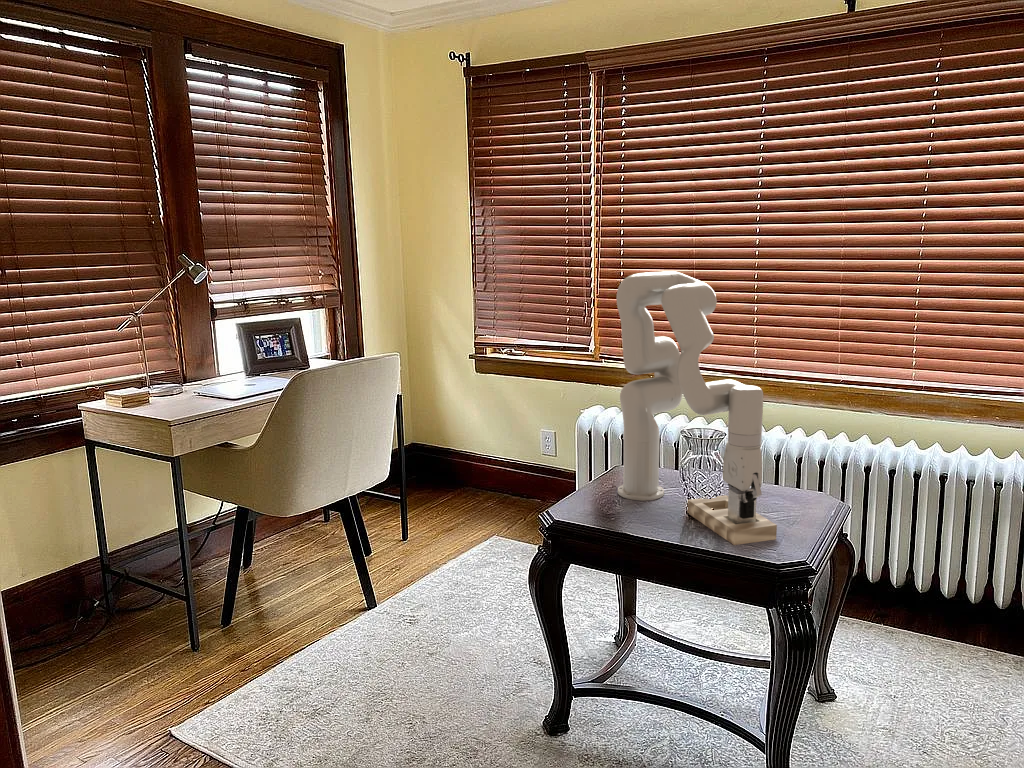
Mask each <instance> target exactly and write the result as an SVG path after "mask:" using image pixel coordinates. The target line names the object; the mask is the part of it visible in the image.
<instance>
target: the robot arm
mask: <svg viewBox="0 0 1024 768" xmlns="http://www.w3.org/2000/svg"><path fill="white" fill-rule="evenodd" d="M618 285H619V286H618V288H617V291H616V306H617V310H618V311H617V312H618V314H619V318H620V326H621V327H620V328H621V343H622V356H623V365H624V367H625V370H626V371H627V372H628V373H629V374H631V375H644V374H653V373H654V377H649V378H641V379H636V380H632V381H630V382H628V383H626V384H625V385H624V386H623V387H622V388H621V390H620V395H619V401H620V402H619V403H620V407H621V411H622V421H623V423H622V424H623V466H622V467H623V473H622V478H623V480H622V481H623V482H622V484H620V485H619V486H618V488H617V494H618V495H619V496H620V497H622V498H624V499H626V500H627V499H628V500H631V501H643V502H644V501H645V502H646V501H654V500H659V499H660V498H663V497H664V496H665V489H664V488H663V487H662V486H661V485H660V483H659V482H660V481H659V478H660V427H659V425H658V423H657V421H656V419H655V417H654V414H658V413H663V412H668V411H672V410H675V409H676V408H678V407H679V405H680V404H681V402H682V398H684V399H685V401H686V403H687V405H688V406H689V408H690V409H691V411H692V412H694V413H695V414H697V415H700V416H708V415H713V414H720V413H725V412H728V418H727V419H728V421H727V424H728V425H727V441H726V445H725V447H724V454H723V455H724V456H723V462H722V463H723V465H722V479H723V481H724V482H725V483H727V486H728V487H729V485H732V486H733V487H735V488H737V489H739V490H741V491H742V495H743V502H741V516H740V517H741V518H742V519H745V518H752V517H754V502H755V501H756V498H757V499H758V498H759V497H761V496H762V495H763V493H762V489H761V488H762V482H763V459H762V456H763V455H762V448H761V447H762V438H763V436H762V435H763V417H764V415H763V412H764V411H763V410H764V392H763V389H762V388H760V386H757V385H751V384H750V385H749V384H744V383H741V382H740V381H738V380H734V379H730V378H729V379H727V378H726V379H721V380H713V381H707V382H706V381H705V379H704V377H703V375H702V373H701V369H700V365H699V361H700V359H699V358H700V355H701V353H702V351H704V350H706V349H707V348H708V347H709V346H711V345H712V343H713V342H714V340H715V336H714V332H713V331H712V329H711V326H710V323H709V322H708V320H707V316H708V315H711V314H712V313H713V312H715V310H716V307H717V304H718V301H717V295H716V293H715V290H714V289H713V288H712V287H711V286H710V285H709V284H707V283H706V282H705V281H701V280H700V279H698V278H697V279H696V278H694V277H691V276H689V275H687V274H684V273H681V272H680V271H675V270H674V271H672V270H671V271H670V270H669V271H668V270H667V271H665V270H664V271H649V272H648V271H646V272H639V273H633V274H630V275H628V276H627V277H625V278H624V279H623V280H622V281H621V282H620V283H619V284H618ZM659 305H661V307H662V309H663V311H664V314H665V316H666V319H667V321H668V323H669V326H670V329H672V332H673V334H674V336H675V339H676V341H677V342H675V341H674V339H672V338H671V337H668V336H664V335H660V336H655V325H654V320H653V317H652V316H651V313H650V312H649V310H648V309H647V306H659ZM677 344H678V345H677ZM750 486H751V488H750ZM750 491H751V493H749V494H748V496H747V492H750ZM756 502H757V501H756Z"/></svg>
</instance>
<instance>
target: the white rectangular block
mask: <svg viewBox="0 0 1024 768" xmlns="http://www.w3.org/2000/svg"><path fill="white" fill-rule="evenodd" d="M750 488H751V486H750ZM749 493H751V491H750V492H747V496H748V494H749ZM727 496H728V520H729V521H731V522H732V523H734V524H744V523H751V522H756V513H757V499H758V497H757V498H756V501H755V502H754V517H752V518H745V519H742V518H741V517H740V516H741V502H743V495H742V491H741V490H739V489H737V488H735V487H733V486H732V485H729V486H728V495H727Z"/></svg>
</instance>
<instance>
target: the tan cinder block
mask: <svg viewBox="0 0 1024 768" xmlns="http://www.w3.org/2000/svg"><path fill="white" fill-rule="evenodd" d="M715 497H716V496H715ZM702 498H703V497H701V498H691V499H687V514H688V513H689V514H688V515H689V516H691V517H693V518H694V519H695V520H697V521H698V522H700V523H701V524H703V525H704V526H706V528H708V529H710V530H711V531H712V532H714V533H715V534H717V535H719V536H720V537H722V538H723V539H725V540H726V542H729V543H730V544H732V545H733V546H738V545H744V544H745V545H746V544H753V543H759V542H761V543H762V542H767V541H774V540H777V535H778V534H777V530H778V524H776V523H775V522H772V521H771V520H769V519H767V518H766V517H764V516H763V515H761V514H759V513H758V512H756V522H751V523H744V524H734V523H732V522H731V521H729V520H728V495H718V496H717V497H716V498H711V499H702ZM711 508H713V509H714V510H712V509H711Z"/></svg>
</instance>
